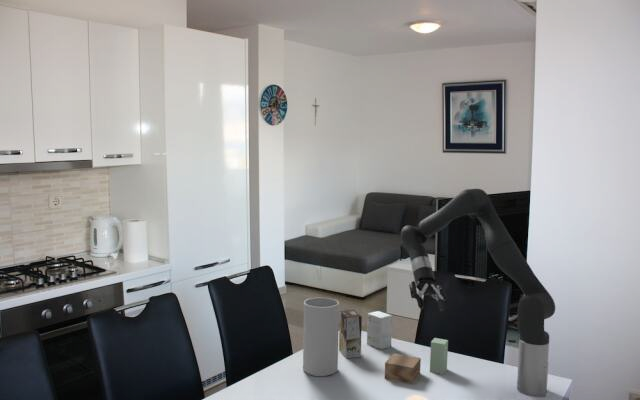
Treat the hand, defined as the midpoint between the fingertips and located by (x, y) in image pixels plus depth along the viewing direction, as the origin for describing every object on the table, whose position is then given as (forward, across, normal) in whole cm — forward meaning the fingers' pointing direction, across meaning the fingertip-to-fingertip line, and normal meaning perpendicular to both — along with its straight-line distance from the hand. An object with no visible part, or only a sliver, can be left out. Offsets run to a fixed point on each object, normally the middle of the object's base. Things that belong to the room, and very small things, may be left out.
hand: (432, 309), depth 205 cm
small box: (-1, -4, +35) cm, 35 cm away
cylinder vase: (+14, -35, +26) cm, 46 cm away
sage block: (+18, +5, +12) cm, 22 cm away
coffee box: (+4, -19, +33) cm, 38 cm away
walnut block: (+20, -10, +13) cm, 26 cm away
